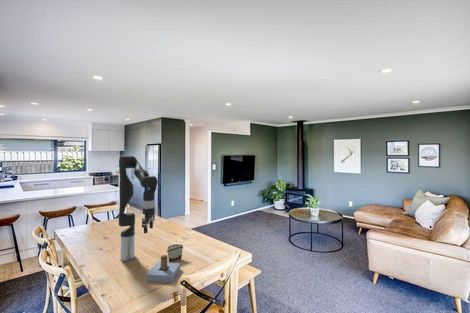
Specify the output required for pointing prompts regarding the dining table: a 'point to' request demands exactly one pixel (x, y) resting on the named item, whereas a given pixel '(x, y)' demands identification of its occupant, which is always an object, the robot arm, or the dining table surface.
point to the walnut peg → (164, 263)
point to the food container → (174, 252)
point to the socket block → (163, 272)
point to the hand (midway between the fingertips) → (148, 230)
